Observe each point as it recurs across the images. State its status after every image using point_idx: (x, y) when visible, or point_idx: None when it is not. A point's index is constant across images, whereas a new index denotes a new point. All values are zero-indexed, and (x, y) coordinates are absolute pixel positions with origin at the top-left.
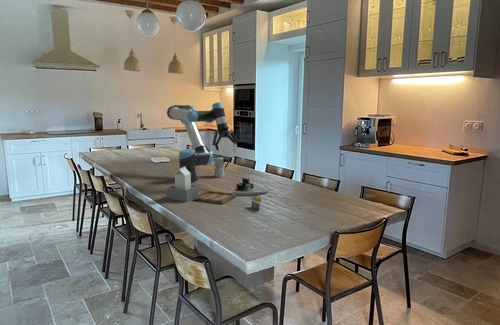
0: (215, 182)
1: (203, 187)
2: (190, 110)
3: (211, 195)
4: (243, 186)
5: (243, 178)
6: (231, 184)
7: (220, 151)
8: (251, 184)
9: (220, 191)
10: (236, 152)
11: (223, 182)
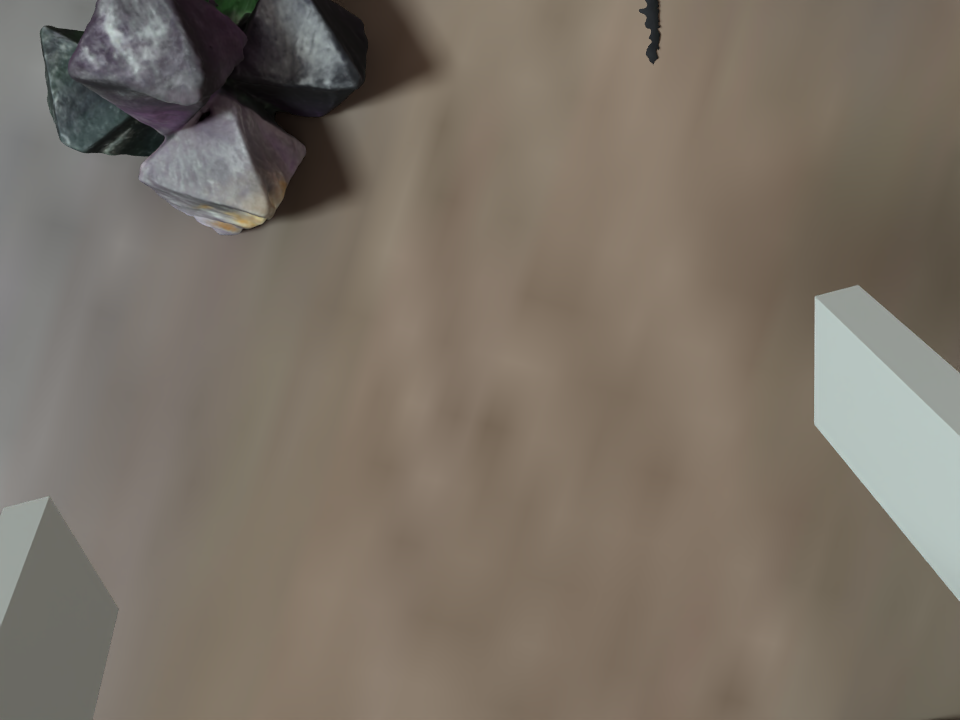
0: (552, 647)
1: None
2: None
3: None
4: (246, 27)
5: (197, 52)
6: (343, 449)
7: (881, 353)
8: (76, 37)
9: (656, 42)
10: (74, 541)
11: (429, 614)
